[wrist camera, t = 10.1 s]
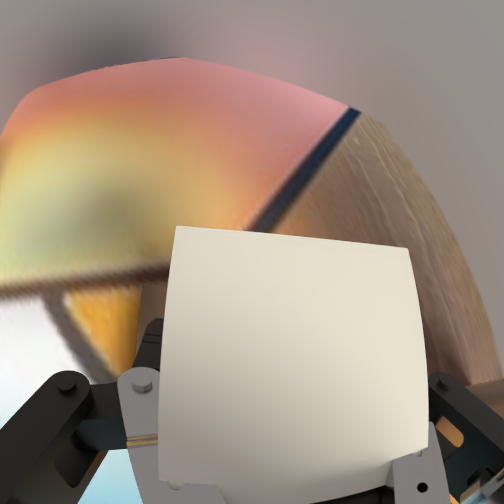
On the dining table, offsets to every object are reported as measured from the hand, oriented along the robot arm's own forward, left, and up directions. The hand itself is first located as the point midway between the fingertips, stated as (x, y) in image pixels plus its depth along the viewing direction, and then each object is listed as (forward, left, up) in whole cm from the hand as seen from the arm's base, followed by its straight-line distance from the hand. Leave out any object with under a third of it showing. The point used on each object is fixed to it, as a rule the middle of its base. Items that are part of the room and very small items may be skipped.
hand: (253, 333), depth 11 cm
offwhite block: (0, +2, -5) cm, 5 cm away
